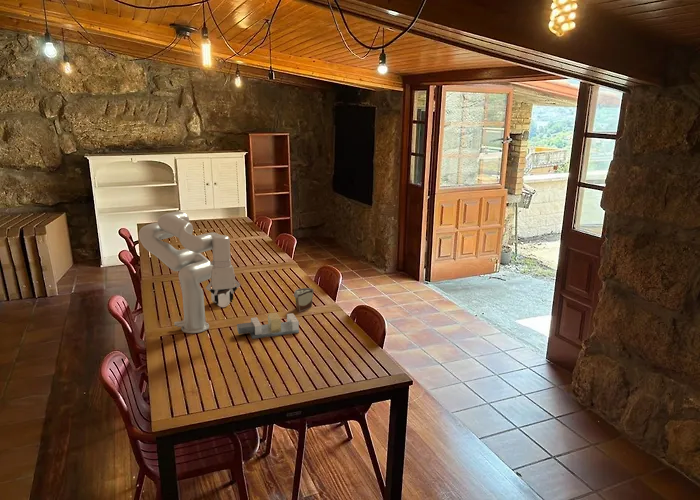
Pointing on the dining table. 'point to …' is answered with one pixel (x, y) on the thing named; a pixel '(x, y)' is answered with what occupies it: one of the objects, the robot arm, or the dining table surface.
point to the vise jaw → (250, 327)
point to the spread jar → (222, 297)
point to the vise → (286, 328)
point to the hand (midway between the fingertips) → (224, 301)
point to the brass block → (274, 322)
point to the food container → (303, 298)
